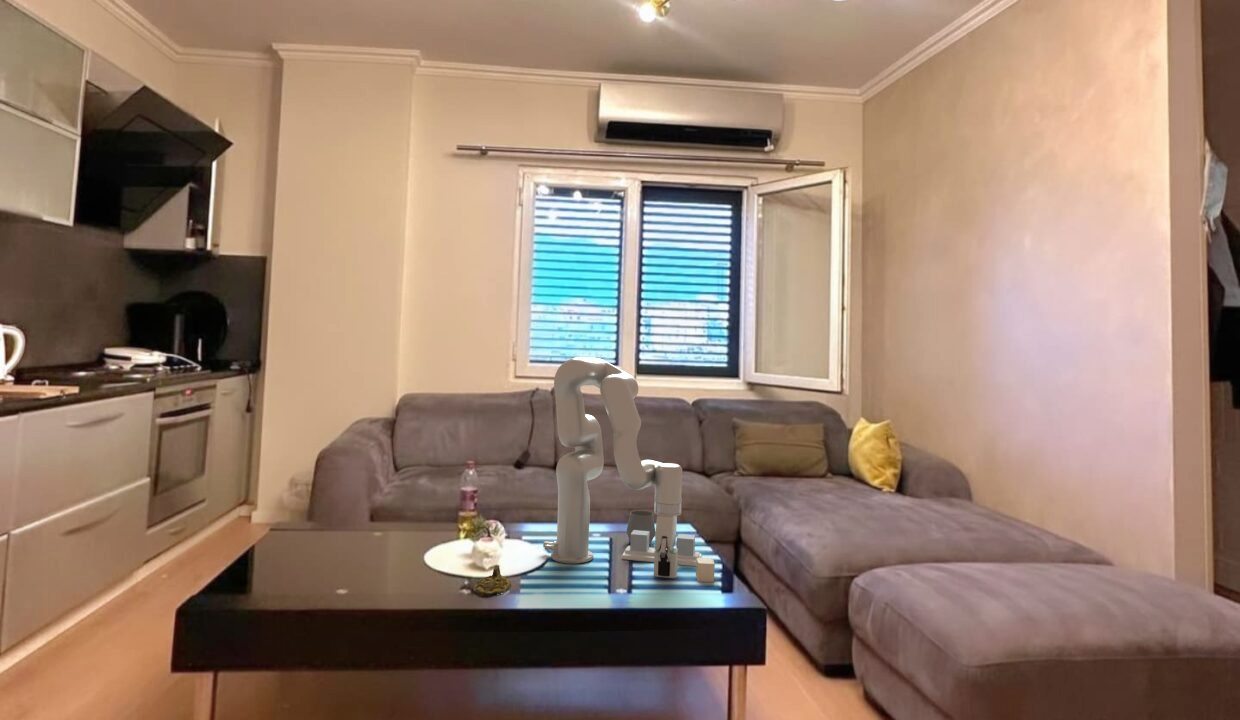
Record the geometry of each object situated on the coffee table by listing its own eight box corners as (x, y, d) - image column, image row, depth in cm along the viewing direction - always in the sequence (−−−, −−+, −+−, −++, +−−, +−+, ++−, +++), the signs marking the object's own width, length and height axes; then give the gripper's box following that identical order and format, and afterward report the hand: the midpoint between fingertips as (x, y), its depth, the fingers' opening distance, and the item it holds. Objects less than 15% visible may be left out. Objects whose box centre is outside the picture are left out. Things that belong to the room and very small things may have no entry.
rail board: (622, 559, 203) (622, 535, 203) (627, 550, 212) (628, 527, 211) (698, 566, 198) (699, 541, 198) (701, 557, 207) (702, 534, 207)
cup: (655, 548, 215) (656, 517, 215) (626, 547, 216) (627, 515, 216) (654, 540, 225) (655, 510, 225) (626, 539, 225) (627, 509, 225)
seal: (505, 603, 167) (513, 582, 182) (508, 584, 167) (515, 565, 182) (468, 598, 167) (478, 577, 182) (471, 579, 167) (481, 560, 182)
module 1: (653, 576, 188) (654, 551, 188) (655, 571, 192) (656, 546, 192) (675, 578, 187) (675, 553, 187) (676, 573, 191) (677, 548, 191)
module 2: (697, 581, 185) (698, 563, 185) (695, 575, 190) (696, 557, 190) (714, 582, 185) (714, 563, 185) (711, 576, 190) (712, 558, 190)
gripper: (658, 500, 199) (656, 561, 199) (649, 513, 182) (647, 580, 182) (684, 502, 197) (682, 563, 197) (677, 516, 180) (675, 582, 180)
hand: (665, 571), depth 189 cm, fingers open, 6 cm apart
